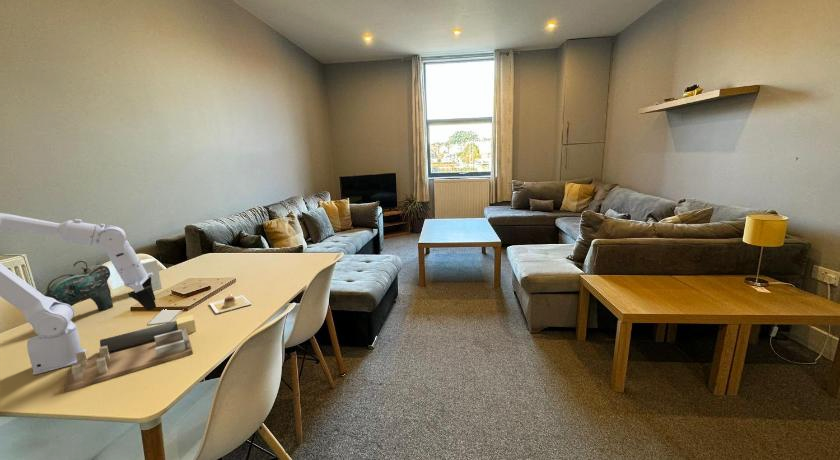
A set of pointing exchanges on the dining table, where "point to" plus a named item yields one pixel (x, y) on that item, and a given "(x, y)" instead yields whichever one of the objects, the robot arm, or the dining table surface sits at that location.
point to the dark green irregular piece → (83, 287)
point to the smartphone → (164, 316)
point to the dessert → (229, 302)
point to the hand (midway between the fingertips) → (151, 305)
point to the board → (127, 359)
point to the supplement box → (152, 267)
